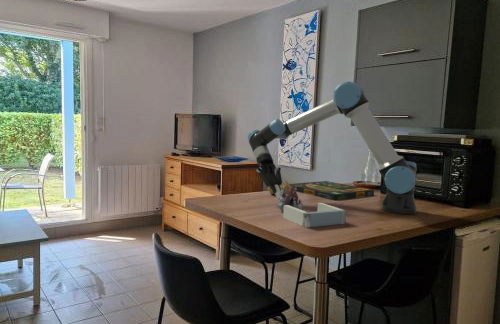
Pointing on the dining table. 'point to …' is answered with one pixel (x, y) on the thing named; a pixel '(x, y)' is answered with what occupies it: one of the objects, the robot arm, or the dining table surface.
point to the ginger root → (285, 187)
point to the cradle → (315, 216)
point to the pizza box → (332, 190)
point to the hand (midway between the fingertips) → (280, 198)
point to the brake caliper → (289, 199)
